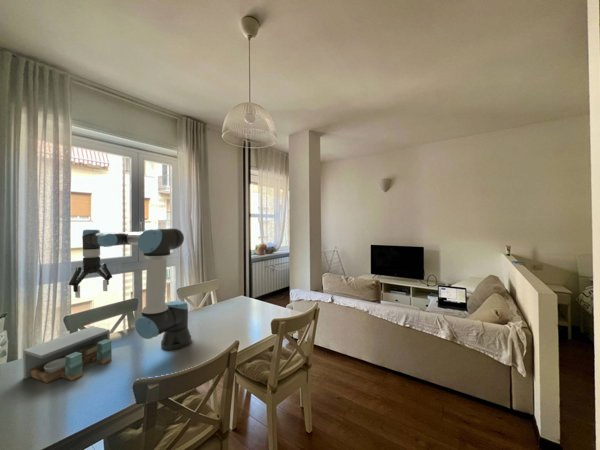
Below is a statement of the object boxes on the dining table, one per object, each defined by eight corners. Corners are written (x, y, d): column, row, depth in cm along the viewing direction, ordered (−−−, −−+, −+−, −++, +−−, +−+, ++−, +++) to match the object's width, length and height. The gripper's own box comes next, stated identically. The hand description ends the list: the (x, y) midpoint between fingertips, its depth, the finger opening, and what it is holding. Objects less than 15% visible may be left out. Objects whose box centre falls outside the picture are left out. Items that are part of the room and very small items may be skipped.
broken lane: (116, 357, 123) (116, 338, 123) (96, 367, 114) (96, 346, 114) (93, 351, 129) (93, 332, 129) (72, 360, 121) (72, 340, 121)
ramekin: (39, 380, 106) (39, 370, 106) (50, 369, 114) (50, 359, 114) (66, 375, 109) (66, 365, 109) (74, 364, 117) (74, 355, 117)
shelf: (109, 353, 127) (109, 329, 127) (41, 384, 102) (41, 355, 102) (92, 348, 132) (92, 326, 132) (23, 377, 107) (23, 349, 107)
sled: (94, 369, 113) (94, 348, 113) (58, 387, 101) (58, 364, 100) (66, 360, 120) (66, 341, 120) (30, 376, 108) (30, 354, 107)
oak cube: (98, 355, 125) (98, 345, 125) (88, 360, 120) (88, 350, 120) (89, 354, 126) (89, 344, 126) (79, 359, 121) (79, 349, 121)
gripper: (110, 253, 152) (111, 288, 152) (59, 259, 129) (60, 299, 129) (119, 254, 150) (119, 289, 150) (68, 260, 126) (69, 301, 126)
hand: (92, 294), depth 139 cm, fingers open, 13 cm apart
